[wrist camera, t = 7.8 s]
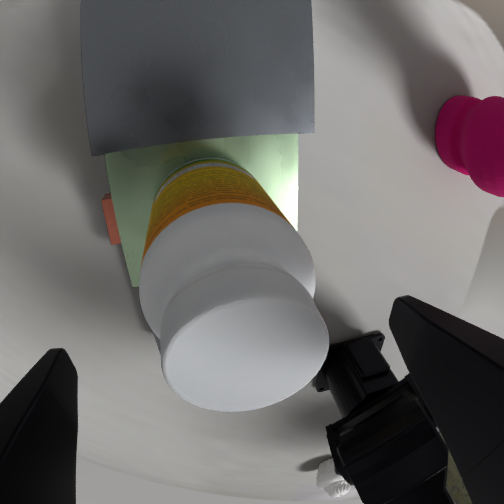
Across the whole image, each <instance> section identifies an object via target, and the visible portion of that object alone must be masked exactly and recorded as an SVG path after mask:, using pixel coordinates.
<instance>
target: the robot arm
mask: <svg viewBox="0 0 504 504" xmlns="http://www.w3.org/2000/svg"><path fill="white" fill-rule="evenodd" d="M389 326H390V329H391V332H392V334H393V336H394V338H395V341H396V343H397V345H398V348H399V350H400V352H401V355H402V357H403V360H404V362H405V364H406V366H407V369H408V371H409V374H408V375H406V376H405V378H404V379H402V380H401V381H398V380H397V378H396V377H395V375H394V374H393V372H392V371H391V369H390V366H389V364H388V363H387V361H386V360H385V358H384V357H383V355H382V354H381V348H382V345H383V342H384V339H385V336H384V335H383V334H382V333H378V334H374V335H370V336H367V337H363V338H359V339H355V340H351V341H347V342H343V343H339V344H335V345H331V346H329V349H328V353H327V356H326V359H325V361H324V363H323V365H322V367H321V369H320V370H319V371H318V377H317V382H316V390H317V392H323V391H326V390H330V391H331V393H332V396H333V398H334V400H335V402H336V404H337V406H338V408H339V410H340V412H341V415H342V417H343V418H342V419H341V420H339V421H337V422H335V423H334V424H330V425H328V426H326V431H327V439H328V443H329V446H330V450H331V454H332V458H333V462H334V470H335V473H336V474H337V475H340V476H342V477H343V478H344V480H345V481H346V482H347V483H348V484H350V485H354V486H355V488H356V489H357V491H358V494H359V496H360V498H361V500H362V502H363V503H364V504H456V503H455V501H454V500H453V498H452V496H451V494H450V492H449V491H448V489H447V487H446V482H447V470H448V455H449V452H450V454H451V456H452V458H453V460H454V463H455V465H456V467H457V469H458V471H459V474H460V476H461V478H462V481H463V483H464V485H465V488H466V490H467V492H468V495H469V497H470V500H471V502H472V504H504V339H502V338H500V337H498V336H496V335H494V334H492V333H490V332H488V331H485V330H483V329H481V328H479V327H477V326H475V325H473V324H471V323H468V322H466V321H464V320H462V319H460V318H458V317H455V316H453V315H451V314H449V313H447V312H445V311H442V310H440V309H438V308H436V307H434V306H432V305H429V304H427V303H425V302H423V301H421V300H418V299H416V298H414V297H412V296H409V295H405V296H401V297H398V298H396V299H395V300H394V303H393V307H392V311H391V314H390V318H389ZM77 393H78V376H77V371H76V368H75V366H74V365H73V363H72V361H71V359H70V357H69V356H68V354H67V352H66V350H64V349H63V348H54V349H50V350H48V351H47V352H46V354H45V355H44V356H43V357H42V358H41V359H40V360H39V361H38V362H37V363H36V364H35V365H34V366H33V367H32V368H31V370H30V371H29V372H28V373H27V374H26V375H25V376H24V377H23V378H22V379H21V381H20V382H19V383H18V384H17V385H16V386H15V387H14V388H13V390H12V391H11V392H10V393H9V394H8V395H7V396H6V397H5V399H4V400H3V401H2V402H1V403H0V504H76V451H77V434H78V397H77ZM439 433H441V435H442V437H443V439H444V440H443V439H442V437H441V435H440V434H439ZM444 441H445V442H444ZM445 443H446V444H445Z"/></svg>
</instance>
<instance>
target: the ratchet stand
mask: <svg viewBox="0 0 504 504" xmlns="http://www.w3.org/2000/svg"><path fill="white" fill-rule="evenodd" d="M81 56H82V74H83V87H84V98H85V108H86V117H87V125H88V133H89V140H90V147H91V154H92V156H96V155H101V154H104V156H105V162H106V169H107V175H108V180H109V186H110V191H111V193H109V194H105V196H104V197H103V199H102V200H101V201H102V206H103V211H104V215H105V220H106V224H107V229H108V233H109V237H110V241H111V245H113V244H120V243H121V244H122V248H123V252H124V256H125V260H126V264H127V268H128V272H129V276H130V280H131V283H132V287H138V286H139V280H140V269H141V262H142V257H143V252H144V247H145V241H146V235H147V230H148V225H149V220H150V215H151V210H152V205H153V201H154V198H155V195H156V192H157V190H158V188H159V187H160V185H161V184H162V182H163V181H164V179H165V178H166V177H167V176H168V175H169V174H170V173H171V172H172V171H174V170H175V169H176V168H178V167H179V166H181V165H183V164H185V163H187V162H190V161H193V160H196V159H201V158H221V159H225V160H229V161H231V162H234V163H236V164H238V165H240V166H241V167H243V168H244V169H246V170H247V171H248V172H249V173H250V174H251V175H252V176H253V177H254V178H255V179H256V180H257V181H258V182H259V184H260V185H261V186H262V187H263V189H264V190H265V191H266V193H267V194H268V195H269V196H270V198H271V199H272V200H273V202H274V203H275V204H276V205H277V207H278V208H279V209H280V210H281V212H282V213H283V214H284V216H285V217H286V218H287V219H288V221H289V222H290V223H291V224H292V225H293V227H294V228H295V230H296V231H297V209H298V134H299V133H314V54H313V27H312V7H311V0H81ZM154 335H155V333H154ZM155 338H156V342H157V345H158V348H159V351H160V354H161V348H160V339H159V338H158V337H157V336H156V335H155Z"/></svg>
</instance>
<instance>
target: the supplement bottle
mask: <svg viewBox="0 0 504 504" xmlns="http://www.w3.org/2000/svg"><path fill="white" fill-rule="evenodd" d="M314 292H315V269H314V264H313V260H312V257H311V255H310V252H309V250H308V248H307V246H306V244H305V243H304V241H303V240H302V238H301V237H300V235H299V234H298V232H297V231H296V230H295V228H294V227H293V225H292V224H291V223H290V222H289V221H288V219H287V218H286V217H285V216H284V214H283V213H282V212H281V210H280V209H279V208H278V207H277V205H276V204H275V203H274V202H273V200H272V199H271V198H270V196H269V195H268V194H267V193H266V191H265V190H264V189H263V187H262V186H261V185H260V184H259V182H258V181H257V180H256V179H255V178H254V177H253V176H252V175H251V174H250V173H249V172H248V171H247V170H246V169H244V168H243V167H241V166H240V165H238V164H236V163H234V162H231V161H229V160H225V159H221V158H201V159H196V160H193V161H190V162H187V163H185V164H183V165H181V166H179V167H178V168H176V169H175V170H174V171H172V172H171V173H170V174H169V175H168V176H167V177H166V178H165V179H164V181H163V182H162V184H161V185H160V187H159V188H158V190H157V192H156V195H155V198H154V201H153V205H152V210H151V215H150V220H149V225H148V230H147V235H146V241H145V247H144V252H143V257H142V262H141V269H140V280H139V298H140V304H141V308H142V311H143V314H144V317H145V319H146V321H147V323H148V324H149V326H150V328H151V329H152V331H153V332H154V333H155V335H156V336H157V337H158V338H159V339H160V348H161V367H162V371H163V375H164V378H165V380H166V382H167V383H168V385H169V386H170V388H171V389H172V390H173V391H174V392H175V393H176V394H177V395H178V396H179V397H181V398H182V399H184V400H185V401H187V402H189V403H191V404H193V405H195V406H198V407H201V408H204V409H209V410H214V411H223V412H241V411H249V410H254V409H259V408H263V407H266V406H269V405H272V404H275V403H277V402H280V401H282V400H284V399H286V398H288V397H289V396H291V395H293V394H294V393H296V392H297V391H299V390H300V389H301V388H303V387H304V386H305V385H306V384H308V383H309V382H310V381H311V379H312V378H313V377H314V376H315V375H316V374H317V373H318V371H319V370H320V369H321V367H322V365H323V363H324V361H325V359H326V356H327V353H328V349H329V334H328V329H327V326H326V324H325V321H324V320H323V318H322V316H321V314H320V312H319V311H318V309H317V307H316V305H315V303H314V300H313V297H314Z"/></svg>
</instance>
